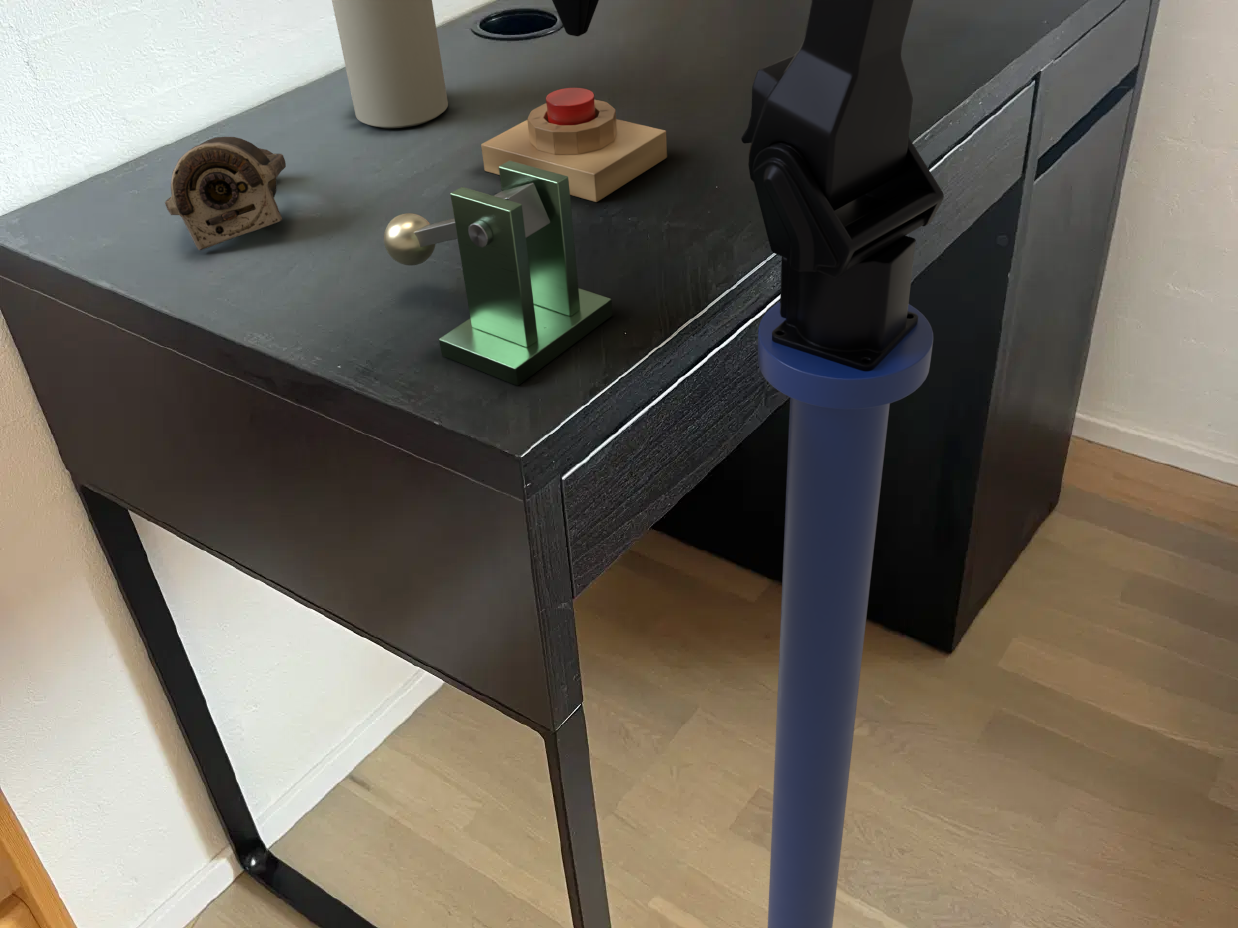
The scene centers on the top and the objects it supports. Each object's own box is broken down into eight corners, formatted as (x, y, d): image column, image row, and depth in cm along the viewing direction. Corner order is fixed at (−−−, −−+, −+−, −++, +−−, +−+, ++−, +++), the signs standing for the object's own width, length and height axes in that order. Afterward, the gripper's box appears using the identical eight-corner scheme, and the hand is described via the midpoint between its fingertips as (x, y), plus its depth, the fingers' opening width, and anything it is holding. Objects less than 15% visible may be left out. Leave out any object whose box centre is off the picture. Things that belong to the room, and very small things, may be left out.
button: (605, 115, 86) (603, 92, 85) (575, 132, 84) (573, 109, 83) (568, 106, 88) (566, 84, 87) (538, 123, 86) (535, 100, 85)
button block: (667, 157, 88) (665, 107, 86) (596, 202, 83) (592, 150, 80) (557, 130, 94) (552, 82, 91) (484, 171, 88) (477, 121, 86)
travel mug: (459, 119, 97) (424, -113, 86) (366, 138, 95) (318, -98, 84) (435, 89, 103) (400, -131, 92) (348, 106, 101) (301, -117, 90)
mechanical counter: (103, 184, 77) (226, 157, 74) (186, 96, 86) (298, 69, 83) (161, 271, 82) (279, 250, 79) (234, 179, 91) (342, 156, 87)
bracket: (441, 356, 68) (413, 204, 62) (538, 290, 73) (521, 145, 67) (517, 386, 65) (496, 229, 59) (612, 315, 70) (601, 165, 64)
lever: (388, 277, 72) (365, 229, 71) (423, 255, 74) (402, 209, 73) (522, 248, 63) (498, 194, 62) (559, 225, 65) (536, 172, 64)
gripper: (548, -278, 72) (569, -21, 82) (328, -232, 61) (382, 59, 71) (694, -275, 67) (698, -1, 77) (481, -225, 56) (518, 90, 65)
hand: (576, 34), depth 73 cm, fingers closed
